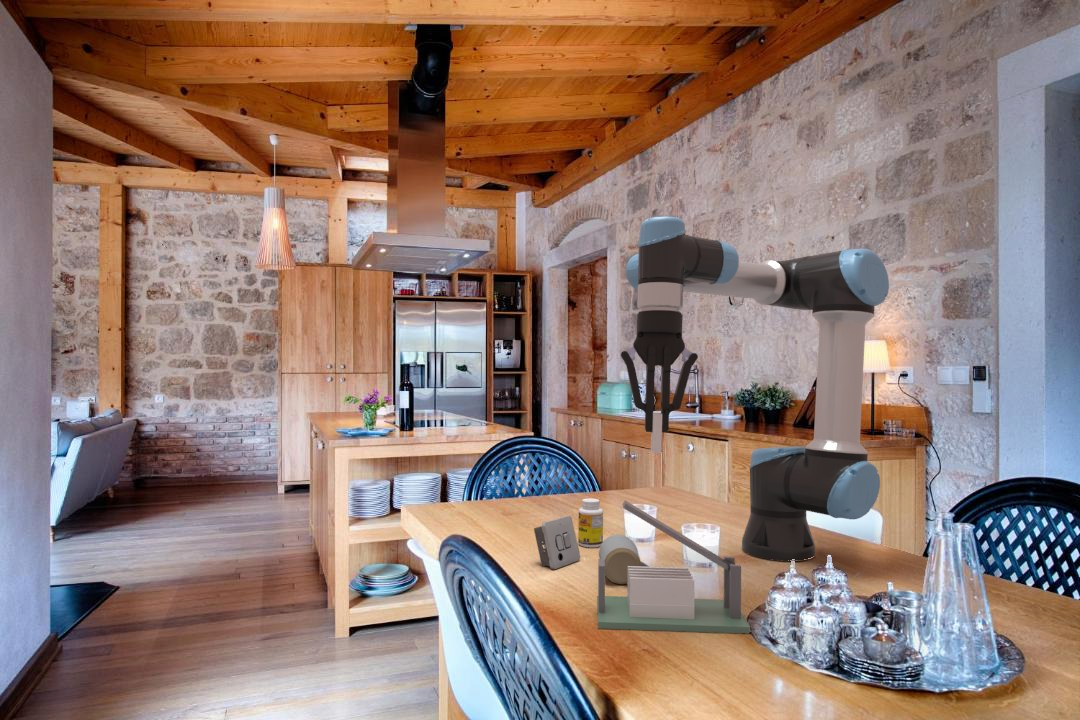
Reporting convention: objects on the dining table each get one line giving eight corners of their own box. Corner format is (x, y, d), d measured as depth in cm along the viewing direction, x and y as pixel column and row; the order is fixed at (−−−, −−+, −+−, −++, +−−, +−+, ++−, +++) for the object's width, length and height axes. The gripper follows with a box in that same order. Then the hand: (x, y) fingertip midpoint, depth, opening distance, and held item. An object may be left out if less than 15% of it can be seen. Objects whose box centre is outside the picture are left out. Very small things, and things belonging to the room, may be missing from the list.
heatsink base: (733, 605, 114) (733, 551, 114) (750, 633, 102) (750, 572, 102) (597, 601, 115) (597, 547, 115) (598, 628, 103) (598, 568, 104)
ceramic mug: (602, 586, 124) (603, 544, 124) (598, 572, 132) (599, 533, 132) (660, 587, 124) (661, 545, 124) (652, 574, 132) (653, 534, 132)
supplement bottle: (574, 543, 154) (574, 498, 154) (595, 541, 156) (596, 496, 156) (585, 549, 149) (585, 503, 149) (607, 546, 151) (607, 501, 151)
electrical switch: (554, 571, 133) (550, 523, 133) (533, 568, 136) (530, 522, 137) (581, 561, 140) (578, 515, 141) (561, 558, 143) (558, 514, 144)
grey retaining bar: (732, 572, 109) (737, 564, 109) (736, 578, 106) (741, 569, 106) (621, 506, 111) (626, 498, 111) (622, 510, 108) (627, 501, 108)
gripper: (695, 314, 116) (692, 451, 115) (619, 312, 117) (615, 448, 116) (702, 309, 108) (699, 456, 108) (621, 307, 109) (617, 453, 109)
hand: (655, 452), depth 112 cm, fingers closed
